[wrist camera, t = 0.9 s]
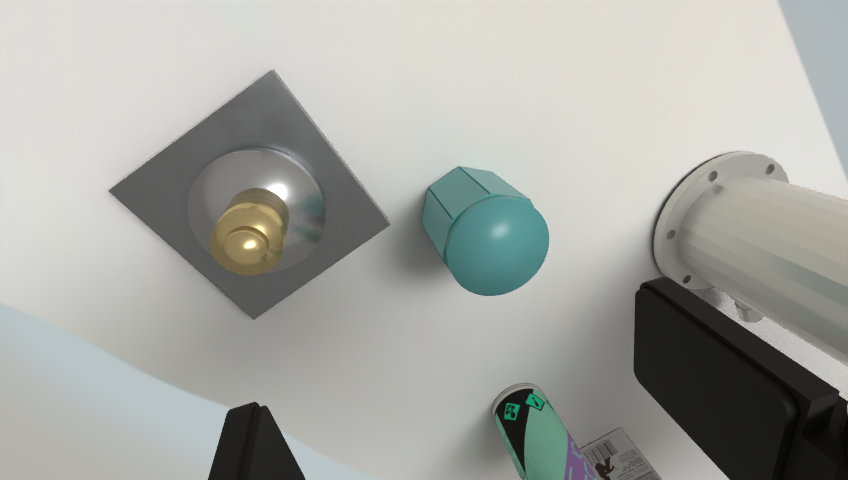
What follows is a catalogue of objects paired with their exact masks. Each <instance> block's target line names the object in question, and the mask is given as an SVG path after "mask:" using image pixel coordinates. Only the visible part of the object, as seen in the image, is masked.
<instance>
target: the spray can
mask: <svg viewBox="0 0 848 480" xmlns="http://www.w3.org/2000/svg"><path fill="white" fill-rule="evenodd" d="M492 415H493V418H494V421H495V423H496V425H497V427H498V429H499V432H500V434H501V436H502V438H503V440H504V442H505V445H506V447H507V449H508V451H509V453H510V456H511V458H512V460H513V462H514V464H515V466H516V469H517V471H518V473H519V475H520V477H521V479H522V480H598V478H597V477H596V475H595V474H594V472H593V470H592V469H591V467H590V466H589V464H588V463H587V461H586V459H585V458H584V456H583V455H582V453H581V452H580V450H579V448H578V447H577V445H576V444H575V442H574V441H573V439H572V437H571V436H570V434H569V433H568V431H567V430H566V428H565V427H564V425H563V423H562V422H561V420H560V419H559V417H558V416H557V414H556V412H555V411H554V409H553V408H552V406H551V405H550V403H549V401H548V400H547V398H546V397H545V395H544V394H543V392H542V391H541V390H540V389H539V388H538V387H537V386H535V385H533V384H527V383H524V384H518V385H514V386H512V387H509V388H508V389H506V390H505V391H503V392H502V393H501V394H500V395H499V396H498V397H497V398H496V400H495V401H494V404H493V406H492Z"/></svg>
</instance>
